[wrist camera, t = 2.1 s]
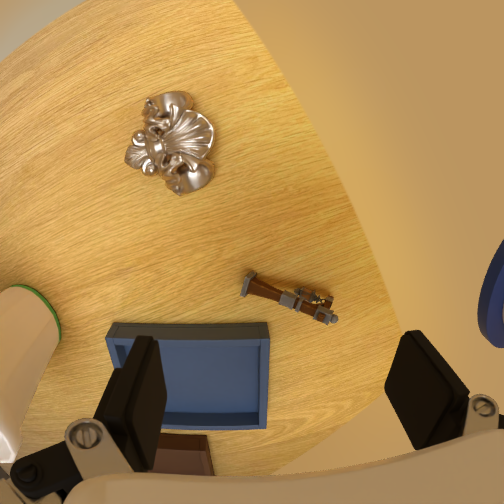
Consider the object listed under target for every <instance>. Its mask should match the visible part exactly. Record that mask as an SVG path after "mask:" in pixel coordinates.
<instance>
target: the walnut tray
mask: <svg viewBox="0 0 504 504" xmlns="http://www.w3.org/2000/svg"><path fill="white" fill-rule="evenodd" d="M147 473H162V474H179V475H196V476H214V471H213V466H212V461H211V456H210V451H209V446H208V440H207V436H206V435H178V434H162V433H160V436H159V441H158V446H157V451H156V456H155V461H154V467H153V470H148V472H147Z"/></svg>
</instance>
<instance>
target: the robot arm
mask: <svg viewBox="0 0 504 504" xmlns="http://www.w3.org/2000/svg"><path fill="white" fill-rule="evenodd" d="M503 322H504V304H503ZM384 389H385V393H386V395H387V396H388V398H389V400H390V402H391V404H392V406H393V408H394V409H395V412H396V414H397V416H398V417H399V419H400V422H401V423H402V425H403V427H404V429H405V431H406V433H407V435H408V437H409V439H410V441H411V443H412V445H413V447H414V449H415V450H417V451H414V452H411V453H407V454H403V455H399V456H395V457H391V458H387V459H383V460H378V461H374V462H369V463H364V464H359V465H354V466H348V467H342V468H336V469H330V470H322V471H314V472H305V473H295V474H283V475H267V476H196V475H179V474H162V473H147V472H148V470H153V467H154V461H155V456H156V451H157V446H158V441H159V436H160V431H161V426H162V421H163V417H164V412H165V407H166V403H167V389H166V384H165V378H164V372H163V367H162V361H161V354H160V348H159V342H158V340H154V339H153V336H145V335H137V336H136V338H135V340H134V343H133V345H132V347H131V349H130V352H129V354H128V356H127V359H126V361H125V363H124V365H123V368H115V369H114V371H113V373H112V375H111V377H110V380H109V382H108V384H107V386H106V389H105V391H104V393H103V396H102V398H101V400H100V403H99V405H98V407H97V410H96V412H95V414H94V417H93V419H92V418H82V419H78V420H76V421H74V422H72V423H71V424H70V425H69V426H68V427H67V429H66V431H65V436H64V437H65V441H62V442H60V443H58V444H55V445H53V446H50V447H48V448H46V449H43V450H41V451H38V452H36V453H33V454H30V455H28V456H25V457H23V458H20V459H19V460H17V461H16V462H15V463H14V464H13V466H12V468H11V471H10V477H9V478H8V479H7V480H5V479H4V478H2V479H1V480H0V504H504V415H501V414H499V407H498V405H497V403H496V402H495V401H494V399H492V398H491V397H489V396H486V395H483V394H477V395H474V396H472V397H471V398H469V397H468V395H469V393H470V391H469V390H468V389H467V387H466V386H465V385H464V383H463V382H462V381H461V379H460V378H459V377H458V376H457V374H456V373H455V372H454V371H453V369H452V368H451V367H450V366H449V364H448V363H447V362H446V361H445V359H444V358H443V357H442V356H441V355H440V353H439V352H438V351H437V350H436V348H435V347H434V346H433V345H432V344H431V343H430V341H429V340H428V339H427V338H426V337H425V336H424V334H423V333H422V332H421V331H420V330H413V331H407V332H405V334H404V335H402V336H401V339H400V342H399V345H398V348H397V351H396V354H395V357H394V360H393V363H392V366H391V368H390V371H389V374H388V377H387V379H386V382H385V386H384Z"/></svg>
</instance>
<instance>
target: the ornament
mask: <svg viewBox="0 0 504 504" xmlns="http://www.w3.org/2000/svg"><path fill="white" fill-rule="evenodd" d="M193 105H194V101H192V98H191V96H190V95H189V94H188V93H186V92H183V91H171V92H166V93H163V94H160V95H157V96H153V97H148V98H147V99H146V102H145V107H144V109H143V110H142V116H144V117H145V118H144V120H143V122H144V123H145V124H144V126H143V128H144V130H145V131H144V130H137V131H135V132H134V133H133V135H132V139H131V141H132V144H133V145H130V146H129V147H128V149H127V151H126V154H125V163H126V164H127V165H129V166H130V167H132V168H134V169H140V168H141V171H142V173H143V174H144V175H145V176H148V177H152V176H155V175H156V174H158V173H159V175H161V176H162V179H163V180H165V181H166V183H165V186H166V187H167V188H168V189H170V190H172V191H173V192H174V193H175V194H177V195H179V196H183V195H185V194H188V193H191V192H194V191H196V190H199V189H201V188H203V187H204V186H206V185H207V184H208V183H209V182H210V181H211V180H212V178H213V176H214V166H213V165H214V162H212V161H210V160H208V159H206V156H207V155H208V154H209V152H210V151H211V149H212V147H213V145H214V142H215V137H216V130H215V127H214V125H213V123H212V122H211V121H210V120H209V119H208V118H206V117H205V116H204V115H202V114H200V113H198V112H196V111H193V110H191V108H192V106H193ZM159 128H160V129H161V130H159V131H158V132H157V130H158V129H159ZM163 131H164V132H163ZM167 161H170V162H169V163H168V162H167ZM183 163H184V164H186V165H187V166H181V165H182V164H183Z"/></svg>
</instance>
